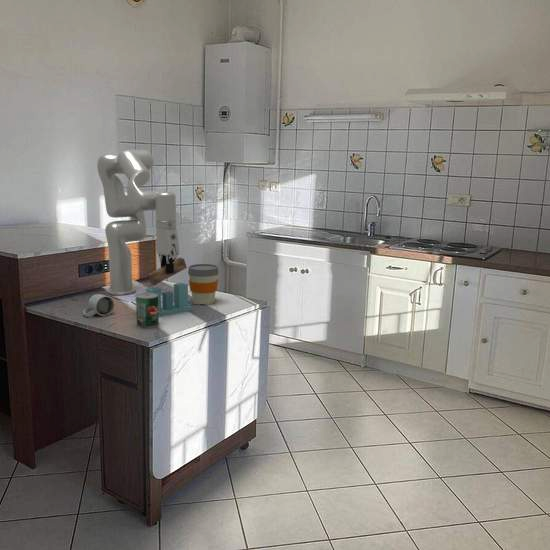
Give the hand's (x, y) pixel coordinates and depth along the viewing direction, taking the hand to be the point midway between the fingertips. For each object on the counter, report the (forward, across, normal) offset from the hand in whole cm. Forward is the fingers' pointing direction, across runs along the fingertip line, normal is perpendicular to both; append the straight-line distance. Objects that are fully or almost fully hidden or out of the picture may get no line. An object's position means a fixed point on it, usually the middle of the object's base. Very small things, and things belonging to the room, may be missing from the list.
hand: (167, 272), depth 215 cm
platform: (+17, +18, -3) cm, 25 cm away
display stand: (+16, 0, 0) cm, 16 cm away
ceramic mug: (+16, +14, +22) cm, 31 cm away
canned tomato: (+17, -8, +14) cm, 23 cm away
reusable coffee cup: (+16, +5, -20) cm, 26 cm away
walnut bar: (+1, 0, -1) cm, 2 cm away
